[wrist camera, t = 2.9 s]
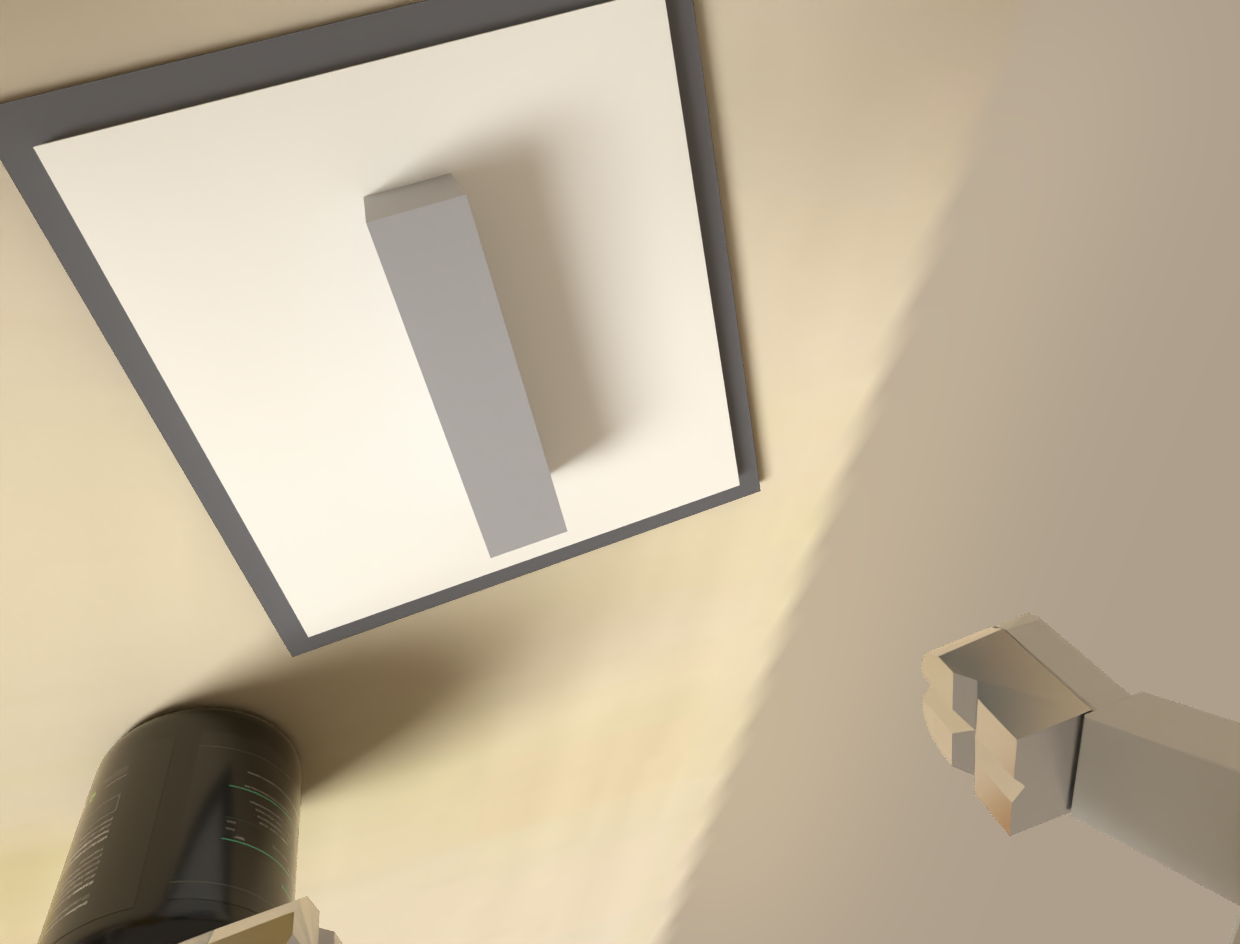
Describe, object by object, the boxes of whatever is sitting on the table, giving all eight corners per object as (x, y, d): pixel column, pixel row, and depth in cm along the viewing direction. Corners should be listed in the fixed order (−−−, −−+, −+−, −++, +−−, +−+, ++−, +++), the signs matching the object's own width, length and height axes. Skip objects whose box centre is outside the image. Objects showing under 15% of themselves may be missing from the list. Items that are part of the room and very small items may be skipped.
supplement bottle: (148, 858, 31) (52, 1255, 21) (60, 738, 28) (-106, 1144, 17) (327, 798, 32) (318, 1146, 22) (264, 676, 29) (219, 1023, 19)
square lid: (308, 626, 28) (303, 710, 24) (41, 144, 19) (-25, 168, 16) (733, 477, 30) (783, 535, 27) (655, -11, 22) (714, -20, 18)
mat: (293, 647, 29) (292, 657, 28) (-20, 109, 19) (-29, 110, 19) (754, 484, 31) (760, 490, 31) (677, -61, 22) (684, -62, 21)
